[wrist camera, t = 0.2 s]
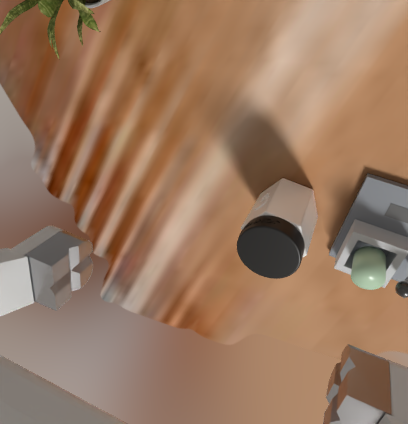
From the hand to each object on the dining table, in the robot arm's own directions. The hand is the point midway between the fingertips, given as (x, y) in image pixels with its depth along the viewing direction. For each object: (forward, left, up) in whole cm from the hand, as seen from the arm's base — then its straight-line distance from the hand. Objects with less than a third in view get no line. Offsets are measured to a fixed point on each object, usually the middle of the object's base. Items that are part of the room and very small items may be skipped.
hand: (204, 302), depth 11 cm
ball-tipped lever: (+23, +19, -37) cm, 48 cm away
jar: (+21, 0, -39) cm, 45 cm away
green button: (+23, +12, -36) cm, 44 cm away
